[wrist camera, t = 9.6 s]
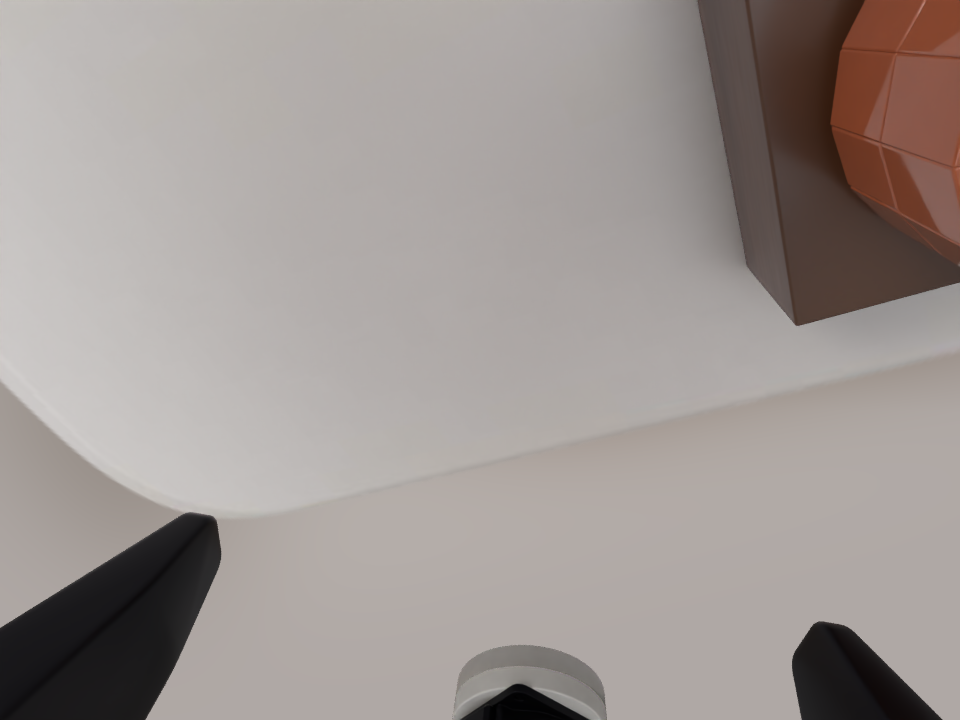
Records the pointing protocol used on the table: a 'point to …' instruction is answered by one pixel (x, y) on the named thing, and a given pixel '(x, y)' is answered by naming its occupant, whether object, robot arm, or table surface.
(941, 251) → the small bowl
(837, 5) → the walnut block
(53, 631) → the robot arm
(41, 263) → the table surface
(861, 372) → the table surface
